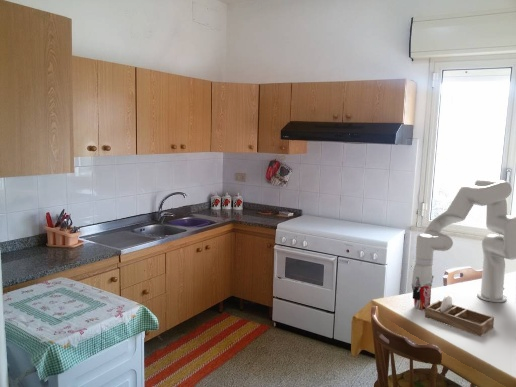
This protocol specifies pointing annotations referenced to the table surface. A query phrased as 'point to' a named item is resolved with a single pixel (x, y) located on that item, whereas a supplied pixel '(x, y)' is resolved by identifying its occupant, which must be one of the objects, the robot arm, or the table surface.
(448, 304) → the plate
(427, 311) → the rack
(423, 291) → the soda can
